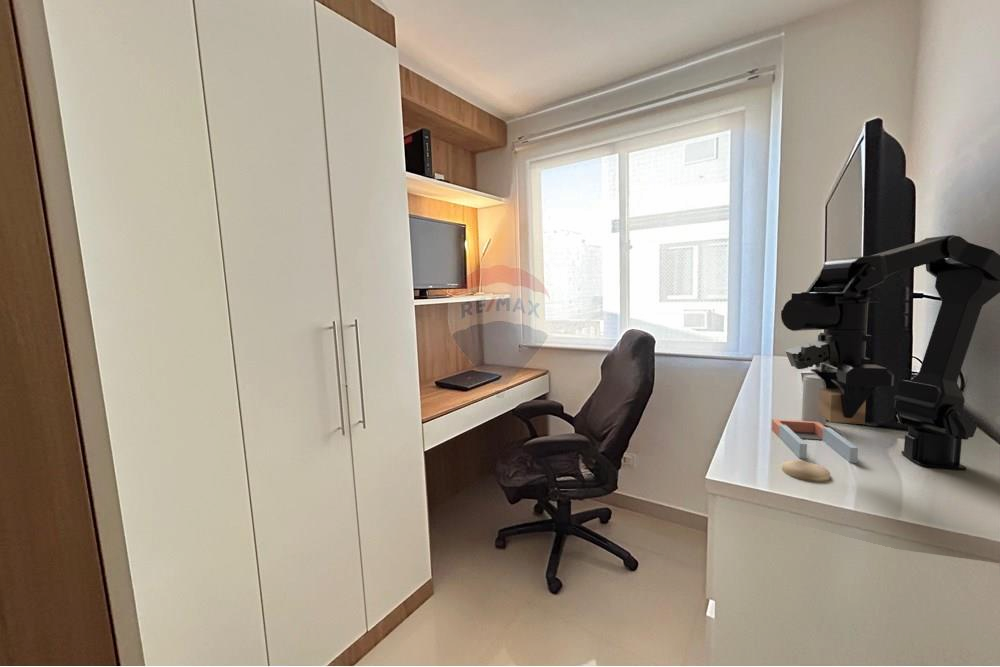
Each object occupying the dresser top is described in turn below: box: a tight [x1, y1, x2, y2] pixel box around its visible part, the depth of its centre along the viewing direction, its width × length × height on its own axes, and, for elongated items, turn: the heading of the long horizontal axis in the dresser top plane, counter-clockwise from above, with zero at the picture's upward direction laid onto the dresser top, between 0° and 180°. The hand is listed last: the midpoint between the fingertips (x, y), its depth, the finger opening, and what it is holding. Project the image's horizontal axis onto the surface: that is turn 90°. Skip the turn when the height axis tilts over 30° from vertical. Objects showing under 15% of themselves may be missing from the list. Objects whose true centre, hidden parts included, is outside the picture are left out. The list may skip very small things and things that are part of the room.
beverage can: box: [800, 374, 827, 426], centre depth 99 cm, size 5×5×12 cm
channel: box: [778, 425, 859, 464], centre depth 84 cm, size 9×12×3 cm
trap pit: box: [771, 418, 826, 441], centre depth 92 cm, size 9×6×2 cm, turn 71°
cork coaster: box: [781, 460, 831, 483], centre depth 74 cm, size 7×7×1 cm
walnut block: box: [818, 388, 867, 425], centre depth 73 cm, size 5×5×5 cm
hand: (840, 413), depth 73 cm, fingers closed on walnut block, 5 cm apart
